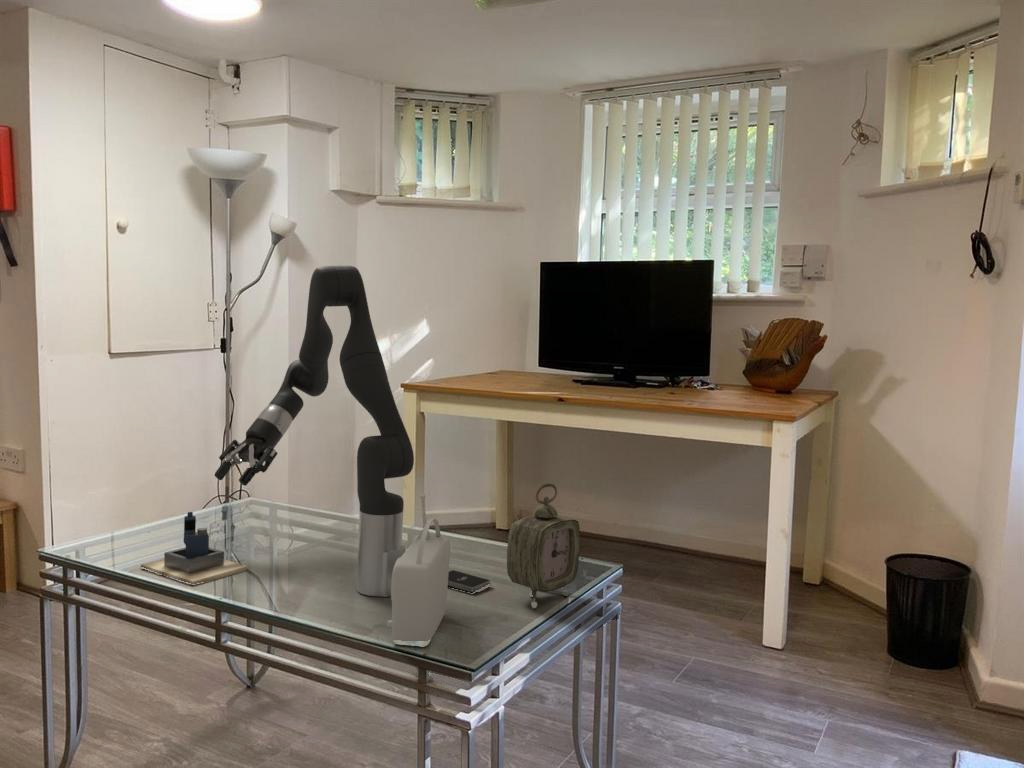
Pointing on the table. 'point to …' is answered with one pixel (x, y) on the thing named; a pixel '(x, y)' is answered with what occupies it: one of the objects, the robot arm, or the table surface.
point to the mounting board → (196, 577)
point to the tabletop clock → (543, 548)
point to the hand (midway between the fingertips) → (229, 480)
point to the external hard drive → (466, 581)
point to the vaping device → (195, 538)
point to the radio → (420, 585)
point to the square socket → (193, 560)
